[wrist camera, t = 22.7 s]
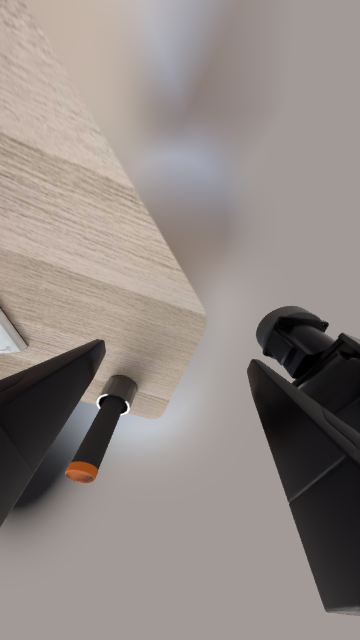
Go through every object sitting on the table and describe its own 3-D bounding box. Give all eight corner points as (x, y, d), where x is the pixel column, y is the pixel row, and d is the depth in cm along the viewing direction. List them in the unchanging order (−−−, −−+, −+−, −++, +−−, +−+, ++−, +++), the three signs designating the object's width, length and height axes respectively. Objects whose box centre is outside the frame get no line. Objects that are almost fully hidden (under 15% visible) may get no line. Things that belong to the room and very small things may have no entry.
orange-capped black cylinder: (110, 381, 29) (61, 468, 17) (129, 382, 29) (91, 471, 17) (113, 393, 30) (69, 481, 19) (131, 395, 30) (97, 484, 19)
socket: (140, 380, 29) (133, 399, 25) (133, 399, 31) (126, 419, 28) (109, 371, 28) (98, 390, 25) (105, 391, 31) (94, 410, 27)
